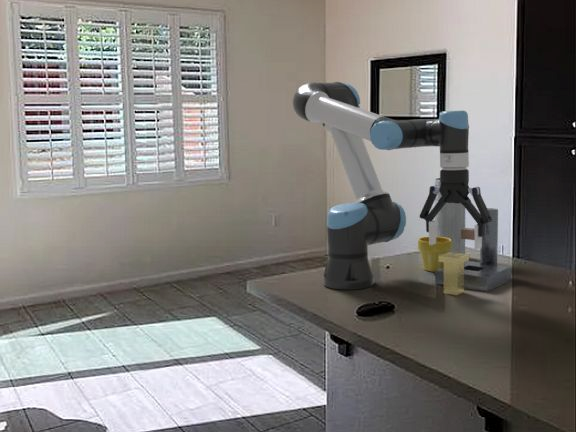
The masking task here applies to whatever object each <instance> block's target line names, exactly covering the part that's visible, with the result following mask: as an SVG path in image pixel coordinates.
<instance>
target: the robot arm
mask: <svg viewBox="0 0 576 432" xmlns="http://www.w3.org/2000/svg"><path fill="white" fill-rule="evenodd" d="M360 104H361V97H360V95H359V92H358V91H357V90H356V88H355V87H354V86H352V85H351V84H349V83H346V82H341V81H335V82H307V83H304V84H302V85H301V86H300V87H298V89H296V91H295V93H294V94H293V98H292V106H293V111H294V112H295V113H296V115H297V116H298V117H299V118H300V119H303V120H304V121H306V122H307V121H308V122H309V123H310V122H311V123H312V124H319V123H322V126H323V129H324V131H327V132H328V133H330V135H331V137H332V139H333V142H334V145H335V146H336V149H337V152H338V155H339V157H340V160H341V164H342V166H343V169H344V171H345V173H346V176H347V179H348V182H349V185H350V187H351V190H352V192H353V195H354V197H355V202H348V203H341V204H337V205H335V206H332V207H331V208H330V209H329V210H328V211H327V218H326V219H327V221H326V226H327V227H326V228H327V253H328V254H327V256H328V257H327V261H326V264H325V269H324V272H323V275H322V285H323V286H325V287H326V288H329V289H333V290H347V291H348V290H362V289H365V288H370V287H372V286H373V285H374V284H375V275H374V273H373V270H372V266H371V264H370V260H369V255H368V252H369V250H368V246H371V245H375V244H381V243H388V242H390V241H393V240H396V239H398V238H399V237H400V236H402V234H403V233H404V231H405V227H406V225H407V216H406V212H405V210H404V207H403V206H402V204H398V202H396V201H393V200H392V198H391V195H390V193H389V192H387V191H384V190H383V188H382V185H381V183H380V180H379V178H378V175H377V173H376V170H375V167H374V166H373V161H372V160H371V156H370V154H369V151H368V149H367V147H366V145H365V142H364V140H366V141H369V142H371V144H372V145H373V146H374V148H375V149H377V150H383V151H384V150H385V151H392V150H399V149H410V148H421V147H439V167H440V168H441V170H440V171H439V178H440V183H441V186H440V187H438V186H436V185H435V184H434V185H431V186H430V187H429V191H428V192H429V193H428V196H427V197H426V200H425V203H424V204H423V207H422V210H421V211H420V214H419V218H420V219H421V220H422V219H423V220H424V221H425V227H426V229H425V230H426V231H425V232H426V233H428V237H429V245H433V244H436V221H435V216H436V215H437V214H438V212H439V211H440V210H441V209H442V207H443V206H444V205H445V204H446V203H447V202H448V203H456V204H459V203H461V204H462V205H463V206H464V207H465V210H466V211H467V212H468V213H469V215H470V216H471V217H472V218H473V219H474V221H475V222H476V224H475V225H474V229H475V240H474V250H480V248H482V237H483V236H484V235H485V224H486V223H488V222H491V221H492V218H491V216H490V214H489V211H488V209H487V208H488V207H487V205H486V204H485V201H484V199H483V197H482V193H481V188H480V186H474V187H470V186H469V180H470V175H469V174H470V173H469V171H470V170H469V169H468V167H470V161H469V159H470V158H469V157H470V156H469V136H470V135H469V134H470V133H469V131H470V130H469V128H470V125H469V114H468V112H467V111H465V110H449V111H448V110H445V111H440V112H439V116H438V117H439V118H433V119H431V118H430V119H429V118H427V119H426V118H425V119H424V118H423V119H422V118H421V119H418V118H417V119H415V118H414V119H408V120H407V119H406V120H405V119H404V120H398V119H397V120H396V119H392V118H389V117H386V116H384V115H380V114H378V113H374V112H373V111H369V110H366V109H363V108H361V106H360ZM439 192H440V193H441V195H442V197H441V198H440V199H439V200H438V203H437V204H436V205H435V198H436V196H437V194H438V193H439ZM469 194H470V195H471V196H472V198H473V201H474V203H475V205H476V206H475V205H474V204H473V203H472V200H471V198H470V197H469ZM433 204H434V207H433ZM476 207H477V208H476Z"/></svg>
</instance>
